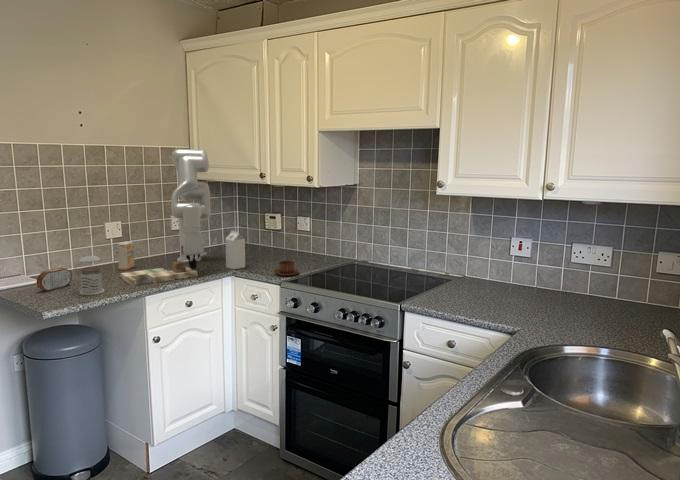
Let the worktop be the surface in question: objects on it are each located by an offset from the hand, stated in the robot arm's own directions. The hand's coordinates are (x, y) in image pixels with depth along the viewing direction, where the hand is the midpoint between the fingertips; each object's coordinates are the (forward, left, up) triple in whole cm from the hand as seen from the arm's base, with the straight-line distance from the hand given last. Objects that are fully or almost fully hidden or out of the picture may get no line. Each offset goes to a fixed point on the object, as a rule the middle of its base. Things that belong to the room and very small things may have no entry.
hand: (193, 268), depth 241 cm
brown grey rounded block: (+57, -11, -4) cm, 58 cm away
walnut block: (+7, 0, -1) cm, 7 cm away
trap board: (+15, -4, -3) cm, 16 cm away
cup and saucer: (-37, +25, -4) cm, 45 cm away
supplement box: (+21, -33, -4) cm, 39 cm away
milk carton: (-24, -3, -4) cm, 24 cm away
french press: (+47, +3, -4) cm, 47 cm away
